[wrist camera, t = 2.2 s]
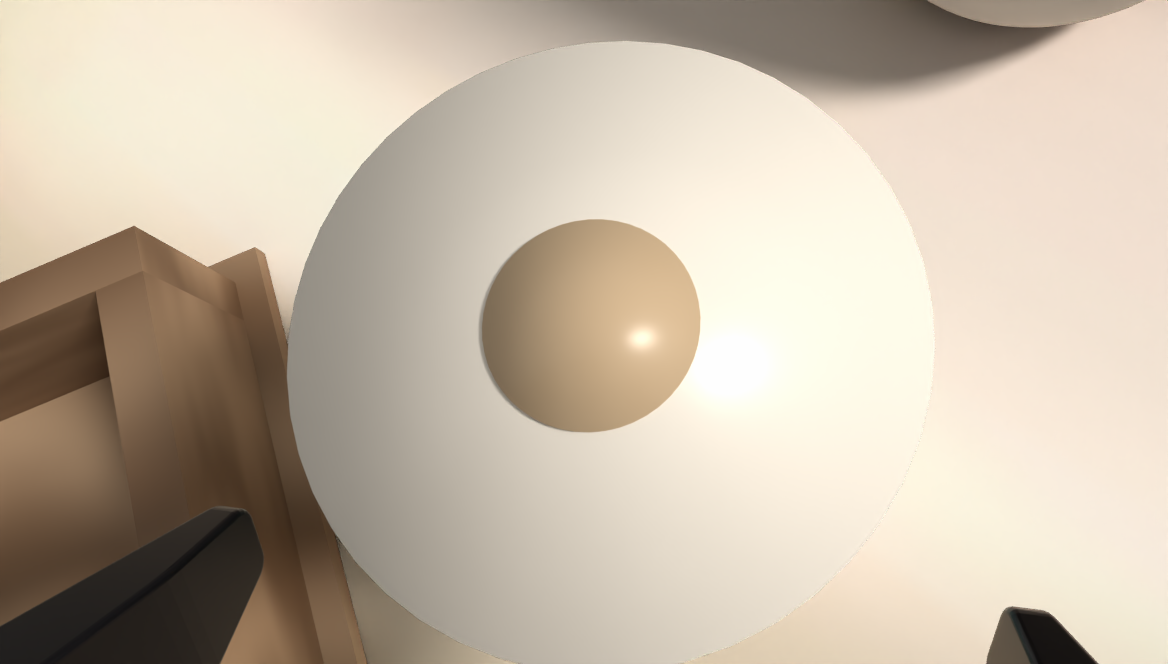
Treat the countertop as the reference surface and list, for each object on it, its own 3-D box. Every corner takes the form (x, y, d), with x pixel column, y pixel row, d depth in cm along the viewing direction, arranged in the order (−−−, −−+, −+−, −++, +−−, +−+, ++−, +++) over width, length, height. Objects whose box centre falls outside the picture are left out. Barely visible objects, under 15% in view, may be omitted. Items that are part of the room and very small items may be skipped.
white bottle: (673, 665, 18) (591, 859, 7) (483, 463, 20) (165, 343, 9) (866, 455, 19) (1100, 296, 7) (661, 279, 21) (586, -66, 9)
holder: (393, 768, 18) (293, 833, 14) (-133, 966, 19) (-377, 1083, 15) (265, 253, 23) (159, 183, 18) (-160, 432, 24) (-356, 404, 19)
